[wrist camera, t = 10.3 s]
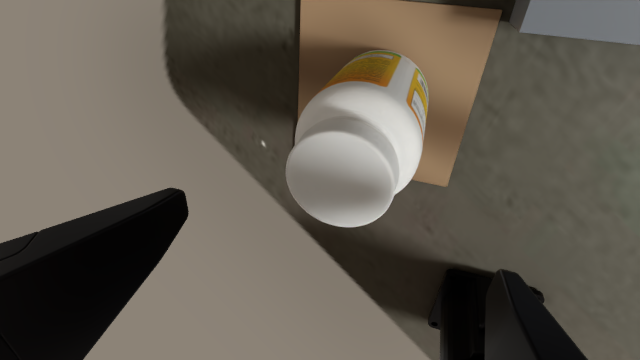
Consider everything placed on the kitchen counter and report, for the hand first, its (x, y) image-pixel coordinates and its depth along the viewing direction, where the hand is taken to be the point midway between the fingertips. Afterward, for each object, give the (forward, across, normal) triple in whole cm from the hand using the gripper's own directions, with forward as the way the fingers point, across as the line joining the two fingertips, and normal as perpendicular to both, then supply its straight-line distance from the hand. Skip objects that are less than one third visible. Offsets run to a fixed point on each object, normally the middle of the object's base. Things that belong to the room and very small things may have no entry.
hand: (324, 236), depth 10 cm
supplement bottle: (+13, 0, 0) cm, 13 cm away
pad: (+13, 0, 0) cm, 13 cm away
